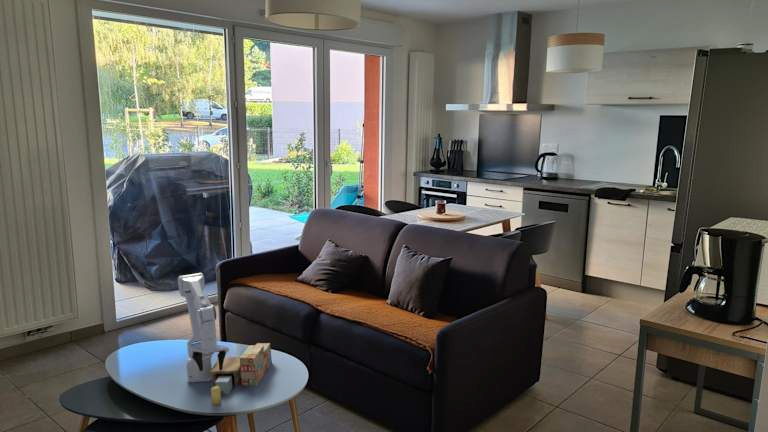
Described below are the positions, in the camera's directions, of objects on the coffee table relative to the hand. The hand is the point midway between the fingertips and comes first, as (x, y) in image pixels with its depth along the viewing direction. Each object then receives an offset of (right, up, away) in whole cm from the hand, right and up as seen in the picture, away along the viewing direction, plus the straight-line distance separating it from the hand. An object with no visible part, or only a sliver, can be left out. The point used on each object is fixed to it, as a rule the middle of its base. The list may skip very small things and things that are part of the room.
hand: (211, 369), depth 209 cm
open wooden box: (+3, -8, +13) cm, 15 cm away
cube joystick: (+4, -10, -1) cm, 11 cm away
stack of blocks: (+14, -7, +18) cm, 24 cm away
